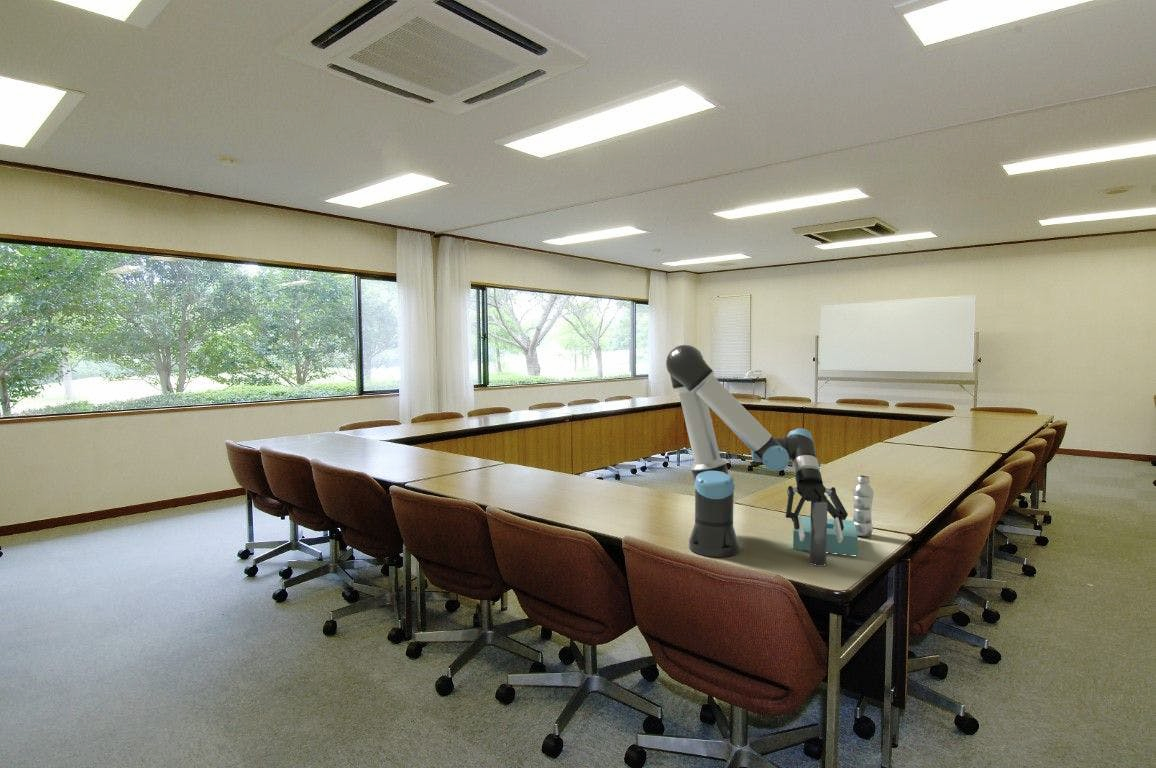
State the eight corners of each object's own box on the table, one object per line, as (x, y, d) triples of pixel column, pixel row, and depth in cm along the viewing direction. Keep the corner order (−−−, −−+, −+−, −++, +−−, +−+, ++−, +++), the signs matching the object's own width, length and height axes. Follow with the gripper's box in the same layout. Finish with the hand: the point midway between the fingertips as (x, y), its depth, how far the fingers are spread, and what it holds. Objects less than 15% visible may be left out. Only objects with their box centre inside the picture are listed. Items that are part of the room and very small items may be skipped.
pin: (809, 564, 165) (810, 503, 164) (809, 559, 170) (810, 499, 169) (826, 567, 164) (827, 504, 163) (825, 561, 168) (827, 501, 167)
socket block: (793, 549, 179) (793, 530, 178) (794, 532, 195) (794, 515, 195) (857, 556, 172) (857, 537, 171) (852, 538, 188) (853, 520, 188)
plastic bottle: (848, 535, 192) (849, 476, 191) (855, 531, 197) (857, 473, 196) (868, 540, 187) (870, 479, 186) (875, 535, 192) (877, 476, 191)
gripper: (842, 481, 179) (859, 547, 165) (768, 479, 182) (778, 544, 167) (848, 467, 174) (866, 535, 159) (772, 465, 177) (783, 532, 162)
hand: (821, 539), depth 163 cm, fingers open, 10 cm apart
